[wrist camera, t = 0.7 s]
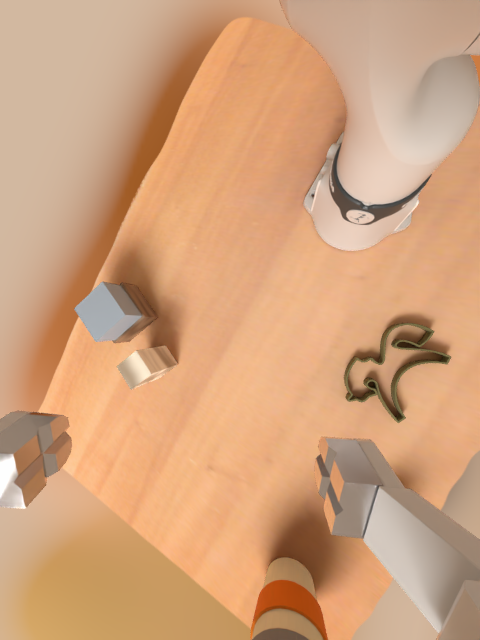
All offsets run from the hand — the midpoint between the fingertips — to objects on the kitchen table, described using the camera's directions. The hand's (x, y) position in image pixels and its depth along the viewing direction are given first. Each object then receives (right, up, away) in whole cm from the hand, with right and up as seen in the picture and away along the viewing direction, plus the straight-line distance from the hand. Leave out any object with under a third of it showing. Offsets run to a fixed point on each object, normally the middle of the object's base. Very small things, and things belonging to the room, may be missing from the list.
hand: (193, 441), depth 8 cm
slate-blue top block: (-24, +5, +41) cm, 48 cm away
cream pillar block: (-15, -5, +44) cm, 47 cm away
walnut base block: (-23, +5, +46) cm, 51 cm away
